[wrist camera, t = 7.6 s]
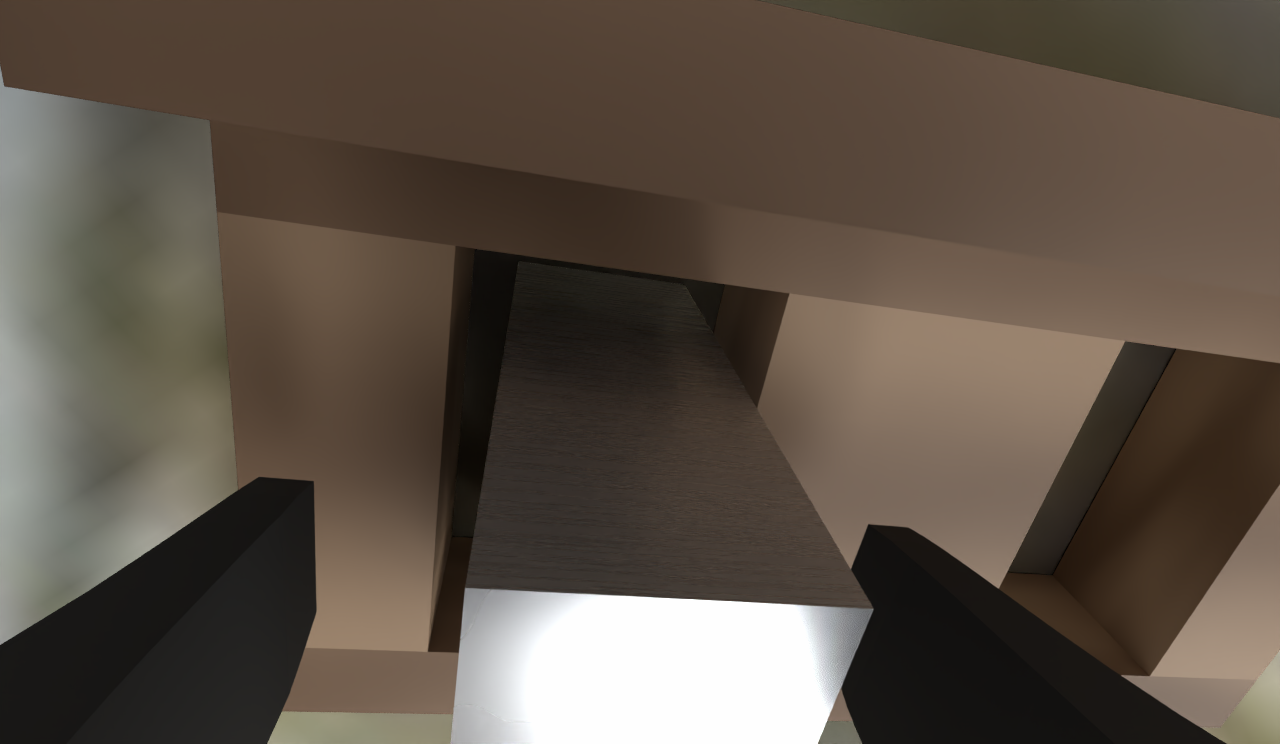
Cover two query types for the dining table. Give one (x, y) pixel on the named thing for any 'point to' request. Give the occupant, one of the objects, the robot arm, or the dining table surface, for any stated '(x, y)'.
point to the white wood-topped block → (642, 539)
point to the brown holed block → (732, 287)
